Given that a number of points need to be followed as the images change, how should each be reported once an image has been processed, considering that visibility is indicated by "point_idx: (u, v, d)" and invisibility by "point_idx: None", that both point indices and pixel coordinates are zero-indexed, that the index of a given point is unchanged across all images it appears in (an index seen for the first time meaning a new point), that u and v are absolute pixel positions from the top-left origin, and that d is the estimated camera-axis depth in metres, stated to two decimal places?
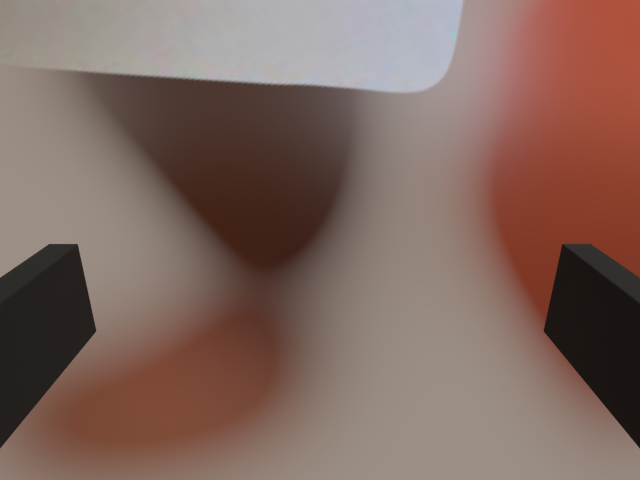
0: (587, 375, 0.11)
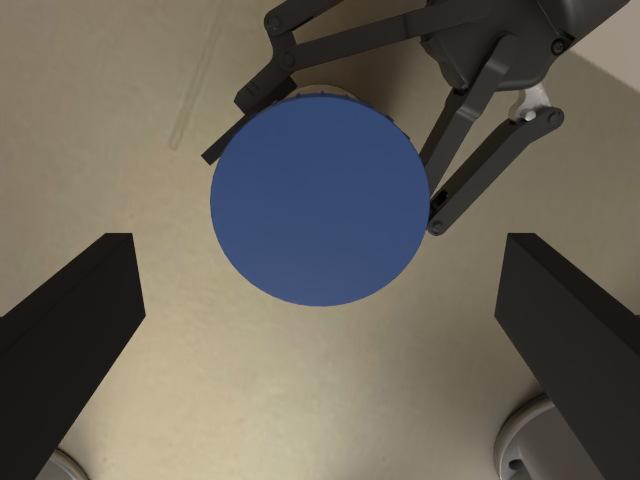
0: (525, 354, 0.12)
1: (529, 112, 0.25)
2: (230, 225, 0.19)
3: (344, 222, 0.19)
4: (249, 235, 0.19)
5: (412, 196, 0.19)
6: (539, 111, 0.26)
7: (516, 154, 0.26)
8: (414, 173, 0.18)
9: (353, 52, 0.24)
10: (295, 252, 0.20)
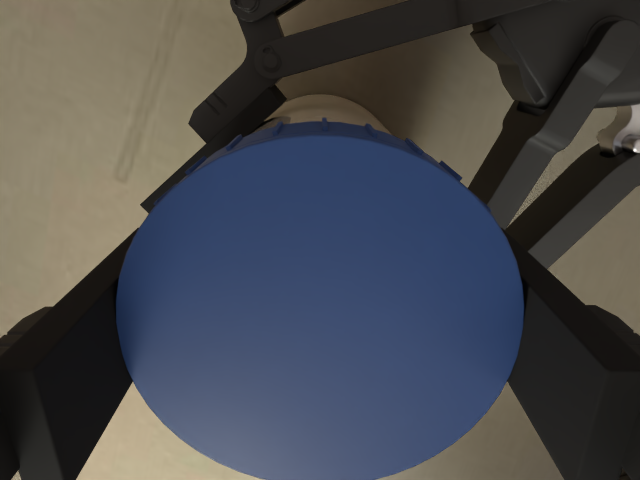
0: None
1: None
2: (156, 363, 0.11)
3: (364, 358, 0.10)
4: (192, 379, 0.11)
5: (492, 314, 0.10)
6: None
7: (615, 202, 0.17)
8: (499, 276, 0.10)
9: (372, 48, 0.15)
10: (276, 405, 0.11)
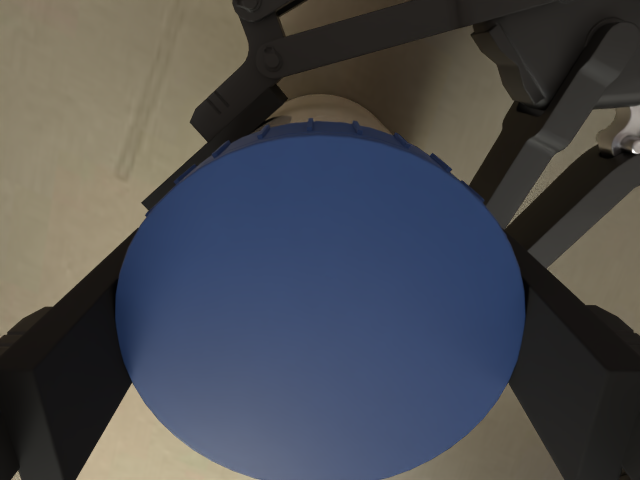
0: None
1: (639, 141, 0.16)
2: (378, 458, 0.12)
3: (332, 297, 0.10)
4: (391, 432, 0.11)
5: (243, 186, 0.09)
6: None
7: (613, 203, 0.17)
8: (197, 197, 0.09)
9: (373, 49, 0.15)
10: (410, 362, 0.10)
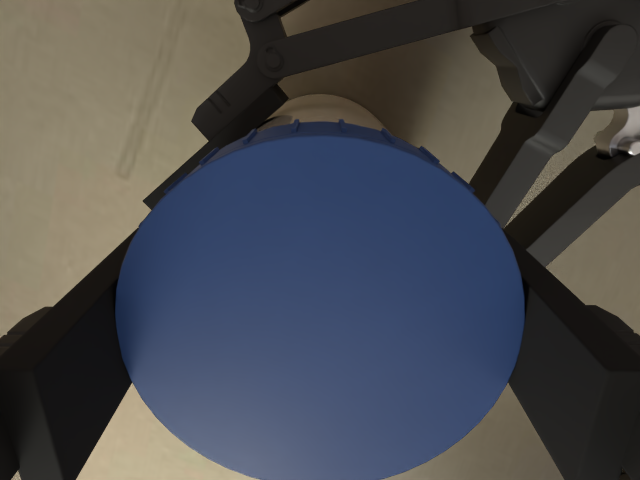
0: None
1: (636, 143, 0.17)
2: (470, 248, 0.09)
3: (268, 340, 0.10)
4: (427, 246, 0.09)
5: (191, 419, 0.11)
6: None
7: (611, 203, 0.18)
8: (211, 446, 0.11)
9: (373, 49, 0.15)
10: (325, 252, 0.09)
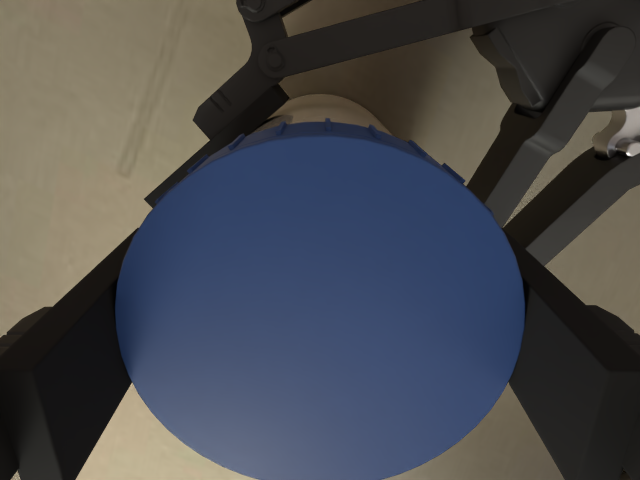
0: None
1: (634, 144, 0.17)
2: (178, 236, 0.09)
3: (331, 381, 0.11)
4: (190, 276, 0.10)
5: (439, 428, 0.11)
6: None
7: (608, 204, 0.18)
8: (471, 409, 0.11)
9: (374, 50, 0.16)
10: (226, 354, 0.10)
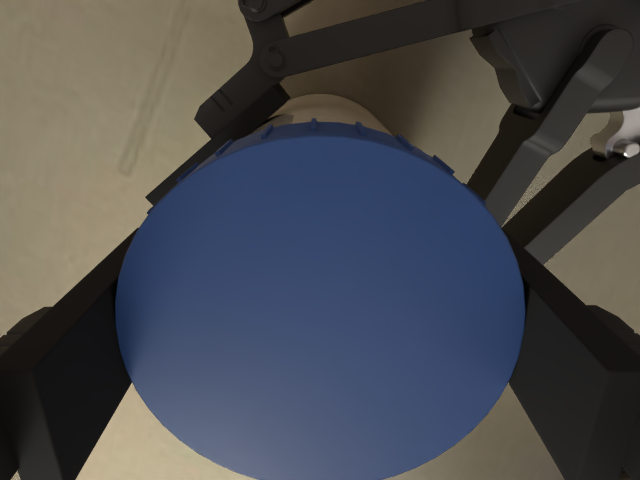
0: None
1: (631, 145, 0.17)
2: (249, 454, 0.11)
3: (366, 321, 0.10)
4: (281, 444, 0.11)
5: (411, 194, 0.09)
6: None
7: (606, 205, 0.18)
8: (375, 165, 0.09)
9: (374, 50, 0.16)
10: (355, 410, 0.11)
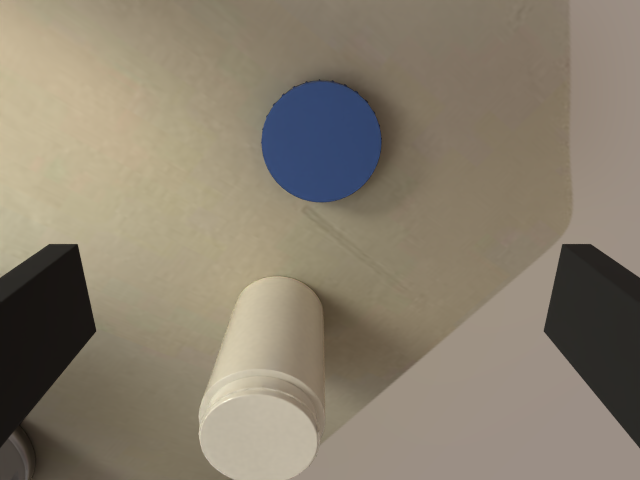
0: (586, 375, 0.11)
1: None
2: (298, 188, 0.36)
3: (335, 138, 0.35)
4: (309, 183, 0.36)
5: (345, 98, 0.33)
6: None
7: None
8: (335, 89, 0.33)
9: None
10: (332, 170, 0.35)
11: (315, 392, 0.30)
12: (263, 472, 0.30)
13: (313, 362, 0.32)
